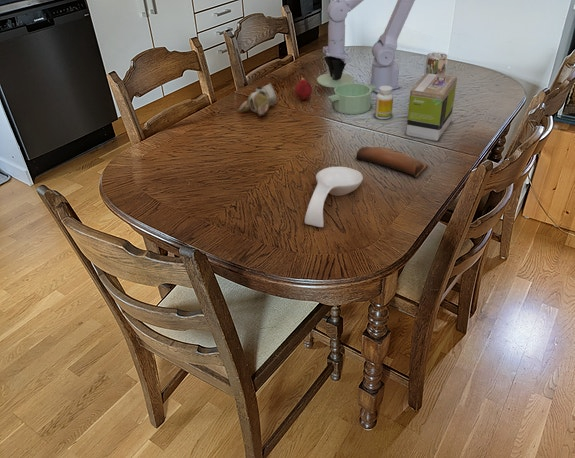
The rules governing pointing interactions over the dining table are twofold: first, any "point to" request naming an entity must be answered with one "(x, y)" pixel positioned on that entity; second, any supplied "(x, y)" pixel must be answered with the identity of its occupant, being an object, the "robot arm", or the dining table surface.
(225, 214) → the dining table surface
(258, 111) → the ceramic sculpture
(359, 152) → the sunglasses case
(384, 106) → the supplement bottle
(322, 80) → the lid
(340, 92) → the pot
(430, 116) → the tea box
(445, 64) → the beer glass
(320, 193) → the spoon rest
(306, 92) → the onion
